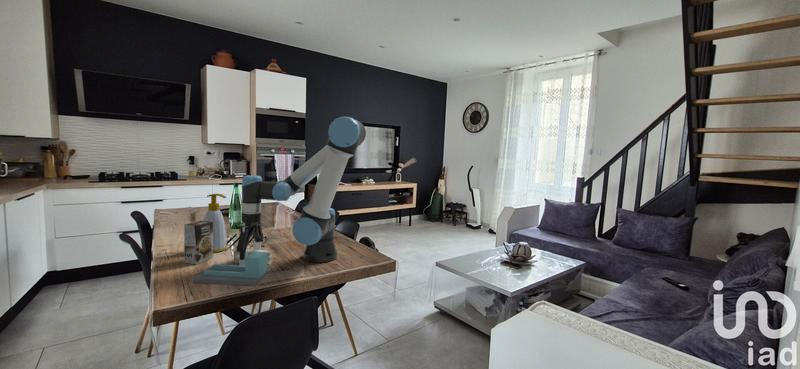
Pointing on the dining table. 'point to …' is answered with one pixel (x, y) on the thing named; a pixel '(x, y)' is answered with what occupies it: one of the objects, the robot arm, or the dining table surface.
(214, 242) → the soap bottle
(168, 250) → the dining table surface
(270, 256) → the clear long block
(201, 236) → the coffee box
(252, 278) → the light blue stand
